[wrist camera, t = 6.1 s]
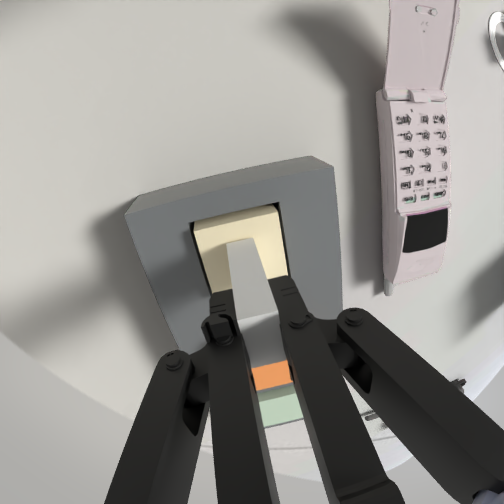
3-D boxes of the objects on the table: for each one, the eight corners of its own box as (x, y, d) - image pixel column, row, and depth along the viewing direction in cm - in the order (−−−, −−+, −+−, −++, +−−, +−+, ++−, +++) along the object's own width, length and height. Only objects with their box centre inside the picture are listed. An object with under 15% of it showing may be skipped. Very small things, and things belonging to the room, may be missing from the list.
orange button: (224, 310, 23) (229, 353, 19) (284, 296, 23) (299, 336, 19) (238, 352, 25) (244, 393, 21) (291, 339, 25) (304, 378, 21)
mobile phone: (459, -9, 10) (459, 310, 21) (412, 6, 15) (425, 276, 26) (386, -30, 9) (404, 332, 21) (347, -3, 15) (374, 292, 26)
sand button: (196, 205, 20) (193, 231, 16) (263, 190, 20) (277, 212, 16) (212, 264, 22) (214, 300, 18) (274, 250, 22) (289, 282, 18)
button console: (138, 195, 19) (123, 215, 16) (311, 155, 20) (333, 166, 16) (223, 406, 30) (226, 435, 27) (329, 381, 31) (340, 408, 27)
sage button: (244, 366, 27) (250, 403, 23) (291, 355, 28) (303, 391, 24) (253, 393, 29) (259, 427, 25) (296, 382, 30) (306, 416, 26)
